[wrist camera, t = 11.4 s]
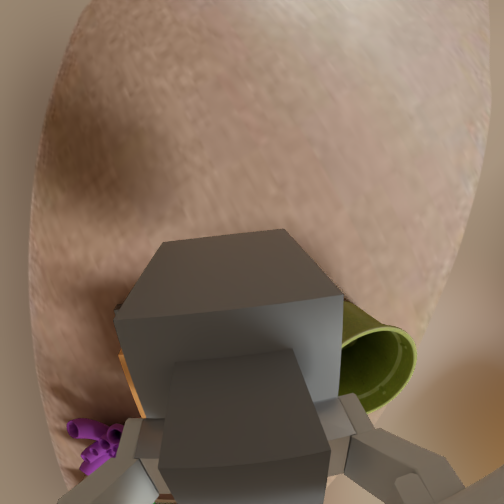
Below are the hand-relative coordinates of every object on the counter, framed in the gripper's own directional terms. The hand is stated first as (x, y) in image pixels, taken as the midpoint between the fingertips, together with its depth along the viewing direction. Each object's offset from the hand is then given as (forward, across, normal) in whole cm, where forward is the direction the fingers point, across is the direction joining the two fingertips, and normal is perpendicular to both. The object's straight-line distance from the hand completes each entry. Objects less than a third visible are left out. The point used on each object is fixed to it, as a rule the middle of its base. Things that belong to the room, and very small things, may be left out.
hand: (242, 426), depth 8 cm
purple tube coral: (+21, +16, +25) cm, 36 cm away
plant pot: (+21, -10, +10) cm, 25 cm away
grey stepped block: (+10, 0, 0) cm, 10 cm away
